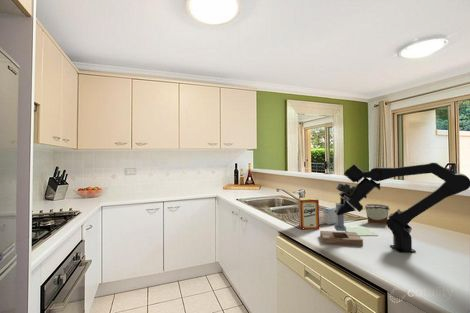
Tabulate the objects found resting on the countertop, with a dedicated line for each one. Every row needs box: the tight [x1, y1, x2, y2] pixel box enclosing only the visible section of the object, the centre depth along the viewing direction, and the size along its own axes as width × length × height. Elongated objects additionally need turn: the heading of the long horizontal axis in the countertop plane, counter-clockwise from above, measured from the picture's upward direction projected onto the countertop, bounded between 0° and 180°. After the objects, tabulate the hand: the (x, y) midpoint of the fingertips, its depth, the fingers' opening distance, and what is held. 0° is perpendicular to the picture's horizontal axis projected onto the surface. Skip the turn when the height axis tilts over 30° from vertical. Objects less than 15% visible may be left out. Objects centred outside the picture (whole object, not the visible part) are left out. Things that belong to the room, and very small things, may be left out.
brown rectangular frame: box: [319, 230, 364, 247], centre depth 105 cm, size 10×16×2 cm, turn 77°
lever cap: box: [333, 202, 346, 232], centre depth 105 cm, size 5×4×12 cm
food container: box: [364, 203, 391, 225], centre depth 132 cm, size 12×6×10 cm, turn 74°
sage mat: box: [344, 225, 379, 237], centre depth 118 cm, size 14×12×1 cm
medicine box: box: [322, 206, 336, 225], centre depth 133 cm, size 8×4×9 cm, turn 111°
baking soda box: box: [297, 197, 320, 230], centre depth 126 cm, size 10×6×16 cm
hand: (336, 213), depth 106 cm, fingers closed on lever cap, 3 cm apart
